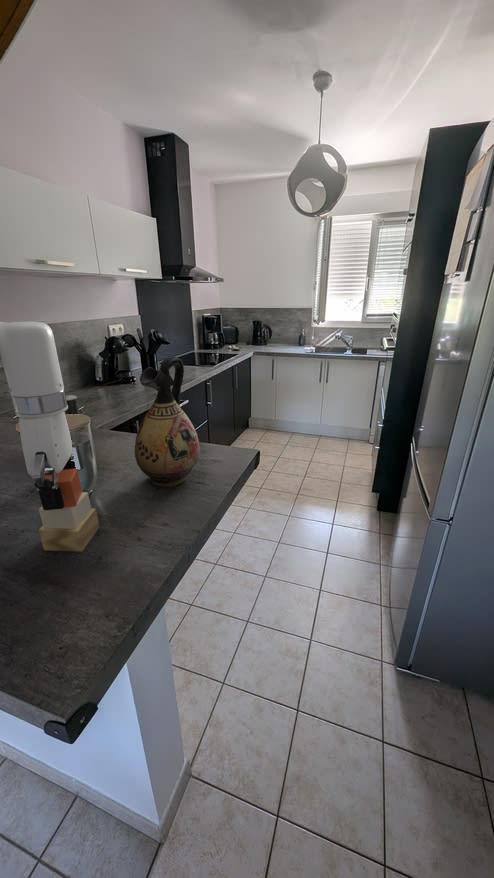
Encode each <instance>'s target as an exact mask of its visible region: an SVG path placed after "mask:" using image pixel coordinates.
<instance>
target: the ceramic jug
mask: <svg viewBox="0 0 494 878" xmlns="http://www.w3.org/2000/svg"><path fill="white" fill-rule="evenodd" d="M172 367H174V377H172V376H171V374H170V369H171V368H172ZM184 373H185V366H184V362H183V360H182V359H181V358H179V357H178V356H170V357H165V358H164V359H163V360H162V361H161V363H160V368H159V369H158V370H157V369H155V368H153V367H151V366H148V367H145V369H143V371H142V372H141V373H140V375H139V382H140V384H141V385H142V386H143V387H147V388H150V389H154V390H156V391H157V394H156V398H155V399H154V401H153V403H152V405H151V406H150V408H149V409H148V411H147V412H146V414H145V416H144V418H143V420H142V421H141V424H140V425H139V427H138V429H137V430H138V431H137V433H136V437H135V443H134V458H135V461H136V464H137V466H138V468H139V469H140V470H141V471H142V472H141V473H144V474H145V476H147V477H148V478H149V481H150V483H151V484H152V486H154V487H163V488H169V487H175V486H178V485H180V484H182V483H184V482H185V481H186V480H187V479H188V476H189V474H190V473H191V471H192V470H193V469H194V467H195V466H196V465H197V463H198V460H199V457H200V453H201V452H200V449H201V448H200V440H199V437H198V433H197V431H196V429H195V427H194V425H193V423H192V421H191V420H190V418H189V416H188V415H187V413H185V411H184V410H183V409H182V408H181V406H180V404H181V403H180V402H181V399H180V397H181V391H182V386H183V382H184V375H185V374H184Z"/></svg>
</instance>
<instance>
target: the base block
mask: <svg viewBox="0 0 494 878" xmlns="http://www.w3.org/2000/svg"><path fill="white" fill-rule="evenodd" d="M100 528H101V527H100V522H99V517H98V513H97V508H95V507H93V508H92V507H91V511H90V512H89V514H88V515H87V516H86V517H85V518H84V520H83V521H82V522H81V523H80V525H79V526H78V527H77V528H76V529H62V528H44V527H43V525H42V526H41V527H39V529H38V534H39V538H40V542H41V545H42V549H43V551H54V552H81V553H82V552H84V550H85V548H86V547H87V546H88V544H89V543H90V542H91V540H92V539H93V537H94V536H96V535H95V534H96V533H98V530H99V529H100Z"/></svg>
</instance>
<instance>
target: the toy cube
mask: <svg viewBox="0 0 494 878" xmlns="http://www.w3.org/2000/svg"><path fill="white" fill-rule="evenodd" d="M45 479H49V480H50V481H51V482H52V475H47V476H45ZM58 486H60V488H61V492H62V496H63V500H64V505H65V506H64V507H71V506H76V505H77V503H78V501H79V498H80V496H81V493H82V492H83V489H82V483H81V479H80V473H78V469H66V470H62V471H61V472H59V473H58Z"/></svg>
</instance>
